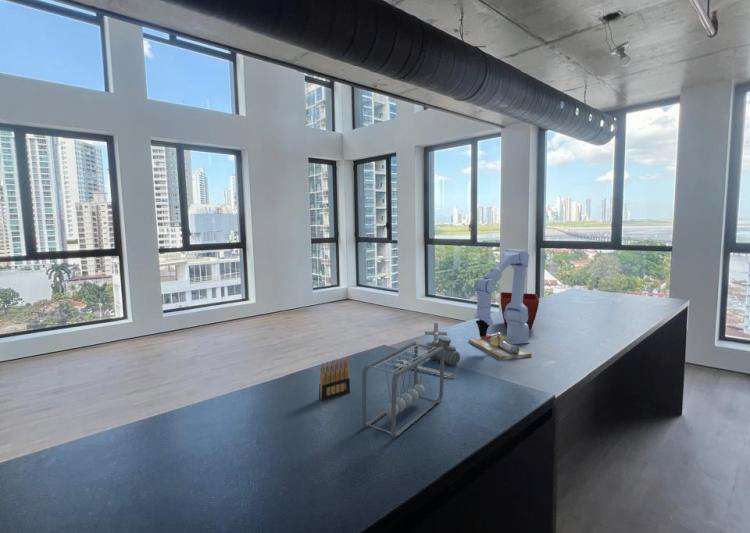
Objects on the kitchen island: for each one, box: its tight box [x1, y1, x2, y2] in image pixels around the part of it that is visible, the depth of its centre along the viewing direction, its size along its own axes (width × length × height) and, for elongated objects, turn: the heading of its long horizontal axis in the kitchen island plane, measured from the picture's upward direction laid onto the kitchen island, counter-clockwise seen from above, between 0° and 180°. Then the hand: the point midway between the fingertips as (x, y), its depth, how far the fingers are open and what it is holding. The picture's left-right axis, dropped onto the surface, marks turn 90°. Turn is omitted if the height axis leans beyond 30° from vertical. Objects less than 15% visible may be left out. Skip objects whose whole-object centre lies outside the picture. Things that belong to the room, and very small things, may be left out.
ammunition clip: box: [318, 356, 351, 402], centre depth 130 cm, size 11×2×12 cm, turn 128°
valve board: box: [468, 337, 532, 361], centre depth 180 cm, size 15×26×2 cm, turn 16°
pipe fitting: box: [426, 335, 461, 367], centre depth 162 cm, size 12×8×10 cm
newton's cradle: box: [361, 341, 445, 438], centre depth 118 cm, size 30×10×18 cm, turn 146°
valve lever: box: [480, 331, 503, 340], centre depth 176 cm, size 13×2×1 cm, turn 130°
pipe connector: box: [424, 321, 448, 341], centre depth 187 cm, size 10×10×10 cm
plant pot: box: [499, 291, 540, 330], centre depth 220 cm, size 19×19×17 cm
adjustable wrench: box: [394, 359, 457, 379], centre depth 152 cm, size 25×6×2 cm, turn 52°
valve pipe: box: [486, 331, 520, 355], centre depth 180 cm, size 4×25×6 cm, turn 16°
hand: (482, 337), depth 176 cm, fingers closed, pressing on valve lever
